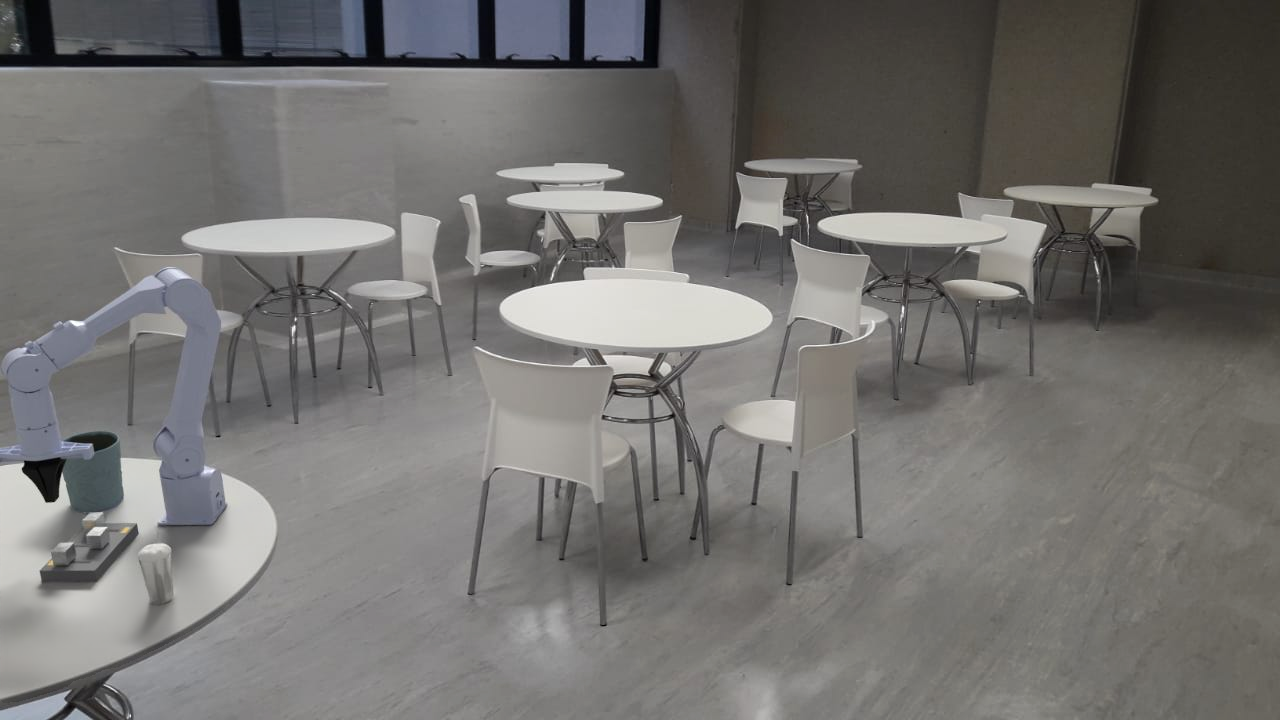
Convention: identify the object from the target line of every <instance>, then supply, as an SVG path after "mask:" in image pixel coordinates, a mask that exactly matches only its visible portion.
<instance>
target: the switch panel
mask: <svg viewBox="0 0 1280 720" xmlns="http://www.w3.org/2000/svg"><path fill="white" fill-rule="evenodd" d="M105 523H106V525H105V526H104V527H108V530H109V536H110V541H109V542H108V543H107V544H106V545H105V546H104V547H103V548H102V549H88V544H87V539H86V535H87V534H88V533H84V528H83V526H82V527H81V528H80V529H79V530H78V531H77V532H76V533H75V534H74V535H73V536H72V537H71V538H70V539H69V540H68V541H67V542H66V543H74V545H75V550H76V555H77V556H76V557H75V558H74V559H73V560H72V561H71V562H70V563H69V564H68V565H53V560H52V557H51V559H49V560H48V562H46V564H45V565H43V566H42V567H41V569H40V570H39V575H40V580H41V582H42V583H45V582H46V583H49V582H51V583H53V582H54V583H55V582H57V583H58V582H62V583H65V582H68V583H69V582H72V583H73V582H75V583H76V582H78V583H79V582H84V583H85V582H94V583H95V582H98V581H99V580H100V579H101V578H102V576H103V575H104V574H105V573H106V572H107V570H108V569H109V568H110V567H111V566H112V565H113V564H114V563H115V562H116V561H117V559H118V558H119V557H120V556H121V555H122V553H123V552H124V551H125V550H126V549H127V548H128V547H129V545H130V544H131V543H132V542H133V541H134V540H135V538H136V537H137V536H138V535H139V528H138V522H124V523H123V522H115V523H114V522H111V523H110V522H105Z"/></svg>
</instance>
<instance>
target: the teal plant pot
mask: <svg viewBox="0 0 1280 720" xmlns="http://www.w3.org/2000/svg"><path fill="white" fill-rule="evenodd" d="M61 441H62V442H72V443H81V444H93V449H94V455H93V457H92V458H91V459H88V460H84V459H83V458H73V459H67V460H66V462H65V465H64V468H63V471H62V477H63V480H64V482H65V489H66V492H67V495H68V499H69V504H70V507H71V508H72V509H73V511H75V512H77V513H82V514H85V513H86V514H89V513H90V512H104V511H107V510H109V509H112V508H115V507H117V506H119V504H121V503H122V502H123V500H124V497H125V494H124V493H125V492H124V486H123V472H122V461H121V459H122V456H121V455H122V452H121V438H120V436H119V435H118V434H117V433H115V432H113V431H107V430H93V431H90V430H89V431H83V432H80V433H75V434H73V435H70V436H67V437H65V438H63V439H61Z"/></svg>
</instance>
